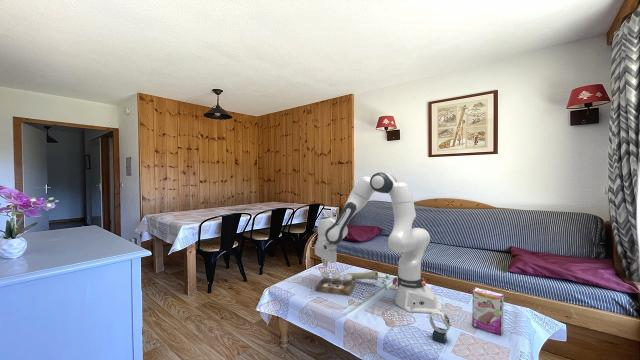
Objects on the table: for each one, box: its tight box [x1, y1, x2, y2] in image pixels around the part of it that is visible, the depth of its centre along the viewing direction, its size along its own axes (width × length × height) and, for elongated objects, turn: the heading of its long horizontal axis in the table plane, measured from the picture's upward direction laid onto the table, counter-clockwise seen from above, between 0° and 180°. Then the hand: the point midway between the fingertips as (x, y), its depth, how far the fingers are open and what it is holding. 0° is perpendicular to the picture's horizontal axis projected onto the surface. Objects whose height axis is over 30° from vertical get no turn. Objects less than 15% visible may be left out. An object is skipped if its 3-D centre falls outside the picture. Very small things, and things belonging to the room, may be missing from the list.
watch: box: [428, 310, 452, 344], centre depth 116 cm, size 6×8×11 cm
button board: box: [315, 277, 356, 297], centre depth 167 cm, size 20×14×4 cm
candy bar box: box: [471, 287, 505, 336], centre depth 123 cm, size 11×5×16 cm, turn 48°
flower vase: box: [346, 269, 398, 290], centre depth 170 cm, size 12×12×35 cm
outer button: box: [320, 270, 330, 279], centre depth 171 cm, size 5×5×2 cm
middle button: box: [331, 272, 342, 280], centre depth 169 cm, size 5×5×2 cm
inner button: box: [343, 273, 353, 281], centre depth 166 cm, size 5×5×2 cm
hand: (325, 265), depth 171 cm, fingers closed
